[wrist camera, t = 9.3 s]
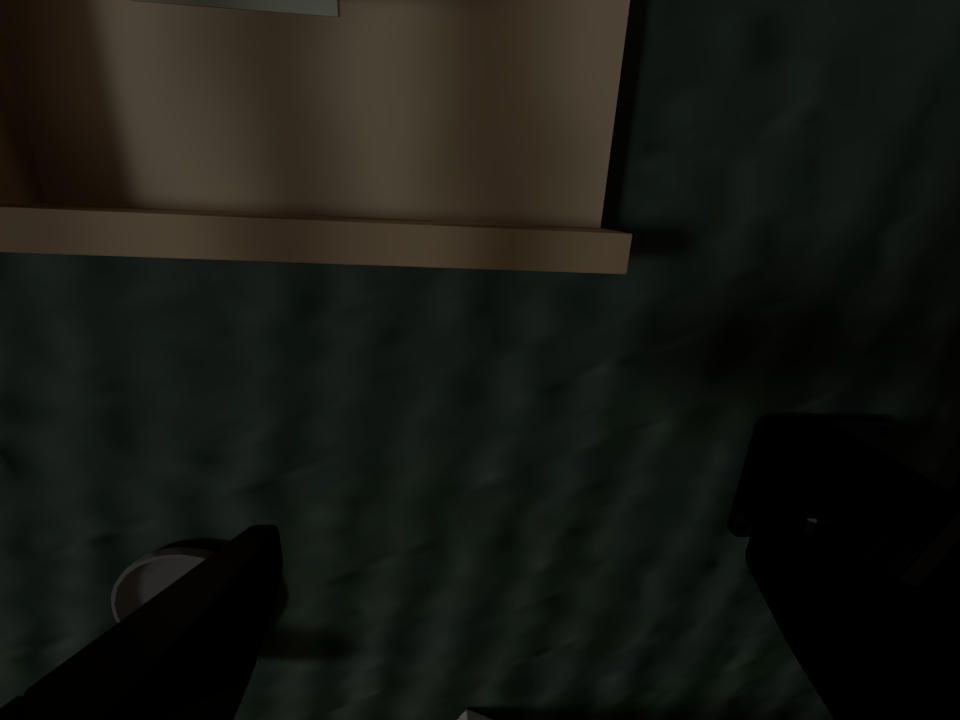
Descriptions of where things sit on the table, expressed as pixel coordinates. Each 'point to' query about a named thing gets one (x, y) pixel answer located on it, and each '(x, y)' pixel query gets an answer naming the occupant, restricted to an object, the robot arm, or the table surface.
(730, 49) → the table surface
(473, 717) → the milk
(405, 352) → the table surface
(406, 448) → the table surface
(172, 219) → the board
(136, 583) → the pocket watch
